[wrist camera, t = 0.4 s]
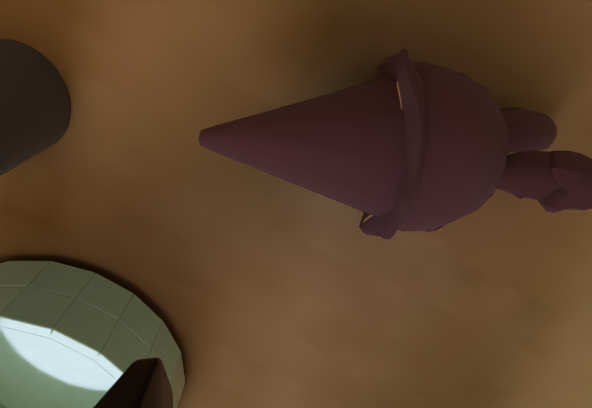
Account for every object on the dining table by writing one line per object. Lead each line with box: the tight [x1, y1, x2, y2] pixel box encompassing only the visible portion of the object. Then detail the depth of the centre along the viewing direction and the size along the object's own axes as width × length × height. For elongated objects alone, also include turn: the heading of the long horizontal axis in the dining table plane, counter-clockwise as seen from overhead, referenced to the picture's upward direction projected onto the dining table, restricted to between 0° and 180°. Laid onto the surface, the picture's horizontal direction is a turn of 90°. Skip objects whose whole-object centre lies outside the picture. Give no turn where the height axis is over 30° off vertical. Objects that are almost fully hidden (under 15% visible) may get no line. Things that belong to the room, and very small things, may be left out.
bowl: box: [0, 261, 185, 408], centre depth 24 cm, size 14×14×5 cm
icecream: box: [199, 48, 592, 239], centre depth 18 cm, size 7×7×15 cm
